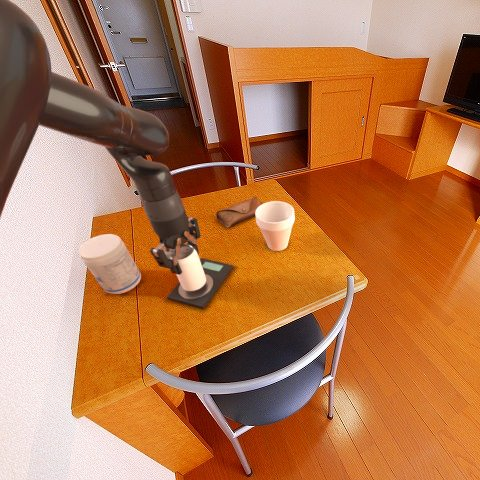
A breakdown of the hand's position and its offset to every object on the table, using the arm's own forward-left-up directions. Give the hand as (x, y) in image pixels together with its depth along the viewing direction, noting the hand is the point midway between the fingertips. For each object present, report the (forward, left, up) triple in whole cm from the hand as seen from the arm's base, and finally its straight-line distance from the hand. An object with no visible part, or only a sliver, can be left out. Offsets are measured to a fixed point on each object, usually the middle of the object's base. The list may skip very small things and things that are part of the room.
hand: (186, 263), depth 72 cm
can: (0, 0, -8) cm, 8 cm away
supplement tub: (-4, +22, -11) cm, 25 cm away
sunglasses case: (+37, +5, -11) cm, 39 cm away
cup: (+25, -14, -11) cm, 31 cm away
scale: (+3, 0, -11) cm, 11 cm away
